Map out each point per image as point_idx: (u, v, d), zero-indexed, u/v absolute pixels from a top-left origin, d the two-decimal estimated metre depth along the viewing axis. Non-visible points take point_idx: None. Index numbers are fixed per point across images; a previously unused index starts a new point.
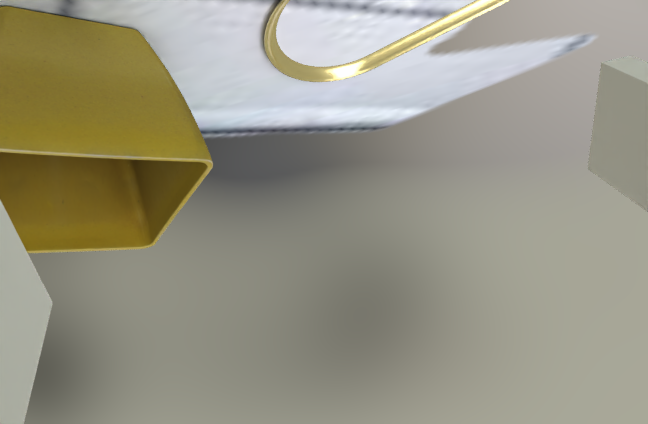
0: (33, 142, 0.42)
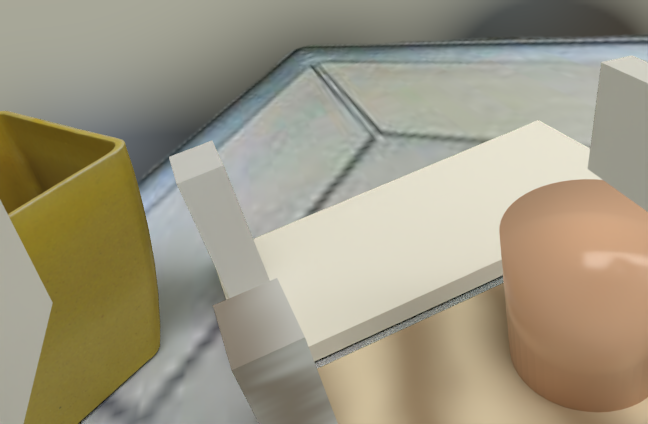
0: (69, 195, 0.32)
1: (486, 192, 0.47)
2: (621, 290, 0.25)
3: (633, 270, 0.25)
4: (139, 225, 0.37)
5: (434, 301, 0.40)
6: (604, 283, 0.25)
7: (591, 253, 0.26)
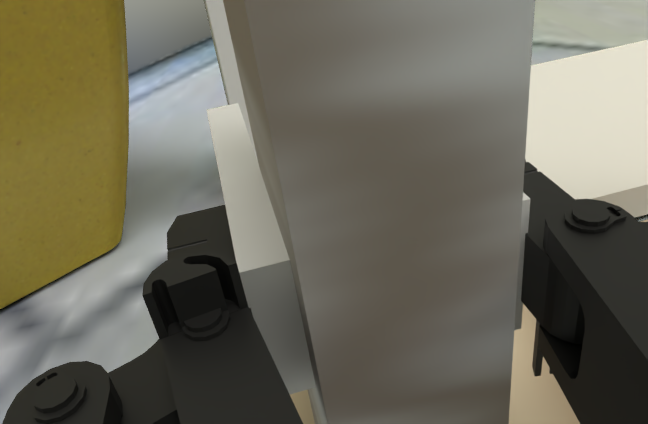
0: None
1: None
2: None
3: None
4: None
5: None
6: None
7: None
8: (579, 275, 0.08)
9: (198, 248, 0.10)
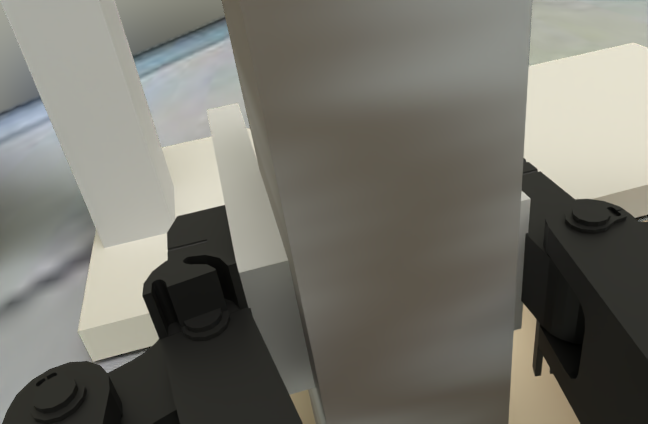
0: None
1: (548, 115, 0.29)
2: None
3: None
4: None
5: None
6: None
7: None
8: (579, 275, 0.08)
9: (198, 248, 0.10)
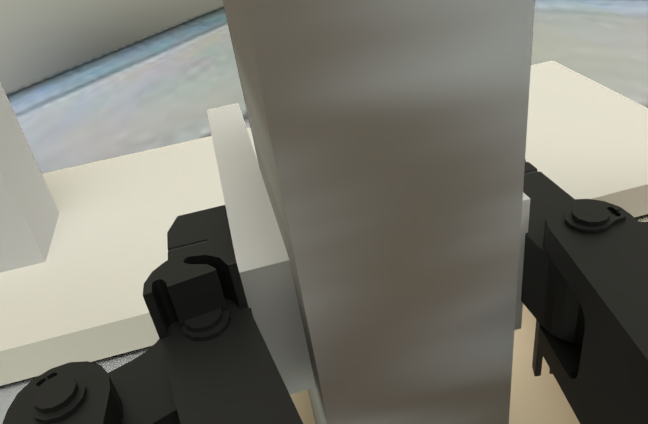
0: None
1: None
2: None
3: None
4: None
5: None
6: None
7: None
8: (579, 276, 0.08)
9: (198, 248, 0.10)
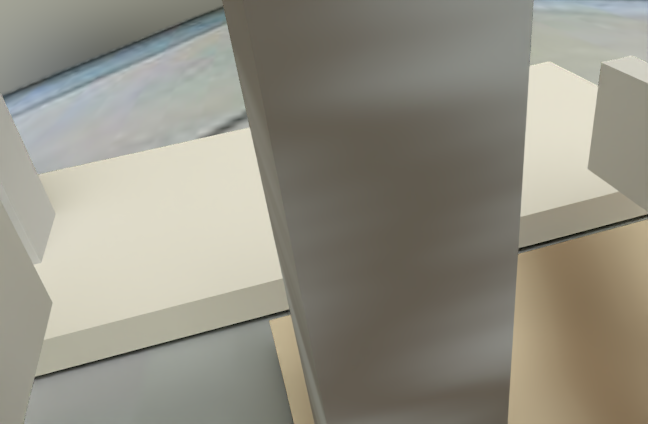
0: None
1: None
2: None
3: None
4: None
5: None
6: None
7: None
8: None
9: None
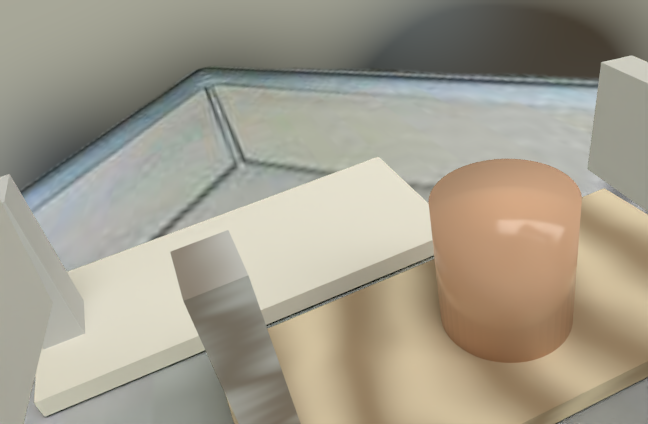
0: None
1: (307, 227, 0.49)
2: (525, 248, 0.29)
3: (535, 231, 0.29)
4: None
5: None
6: (510, 241, 0.29)
7: (503, 218, 0.30)
8: None
9: None
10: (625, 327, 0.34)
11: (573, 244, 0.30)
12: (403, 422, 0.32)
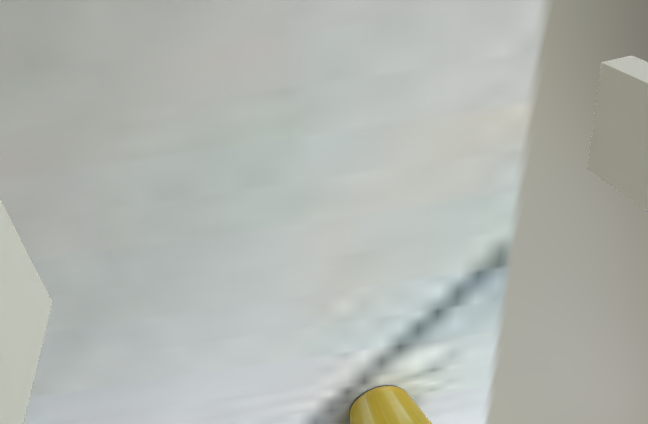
0: None
1: None
2: None
3: None
4: None
5: None
6: None
7: None
8: None
9: None
10: None
11: None
12: None
